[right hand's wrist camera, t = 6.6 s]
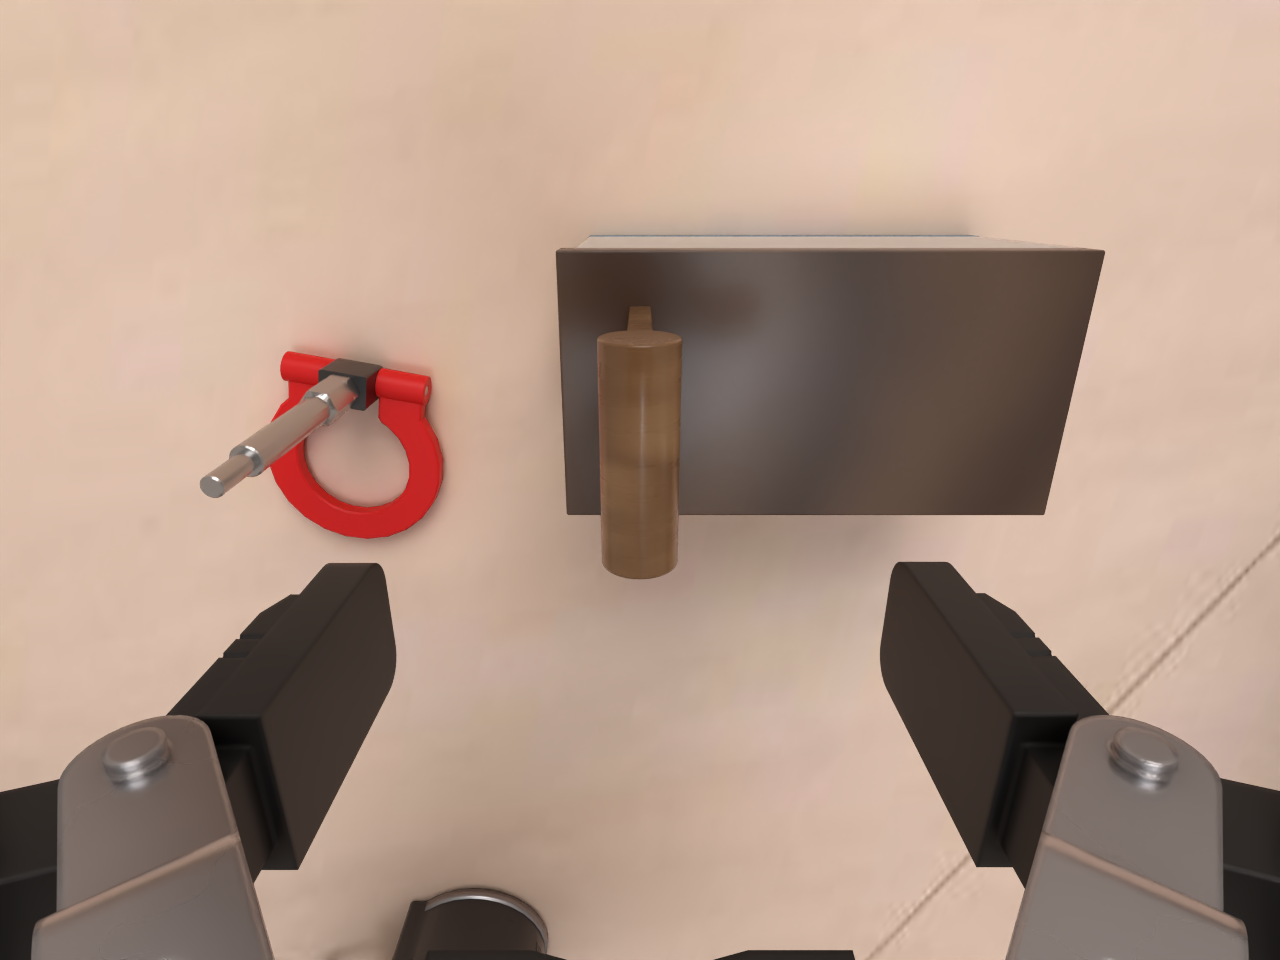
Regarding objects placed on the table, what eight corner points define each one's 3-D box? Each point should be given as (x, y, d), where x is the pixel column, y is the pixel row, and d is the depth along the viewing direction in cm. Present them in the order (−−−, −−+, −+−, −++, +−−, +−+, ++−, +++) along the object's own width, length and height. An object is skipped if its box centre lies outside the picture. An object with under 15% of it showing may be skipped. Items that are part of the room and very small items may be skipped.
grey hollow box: (595, 432, 35) (581, 501, 27) (590, 235, 32) (573, 247, 24) (937, 432, 35) (1026, 501, 27) (969, 235, 32) (1082, 247, 24)
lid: (570, 501, 27) (539, 631, 19) (559, 248, 24) (517, 273, 16) (1027, 502, 27) (1193, 632, 19) (1083, 248, 24) (1316, 272, 15)
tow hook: (440, 540, 38) (452, 374, 34) (343, 713, 26) (346, 487, 22) (279, 513, 37) (274, 342, 33) (107, 677, 25) (69, 440, 22)
